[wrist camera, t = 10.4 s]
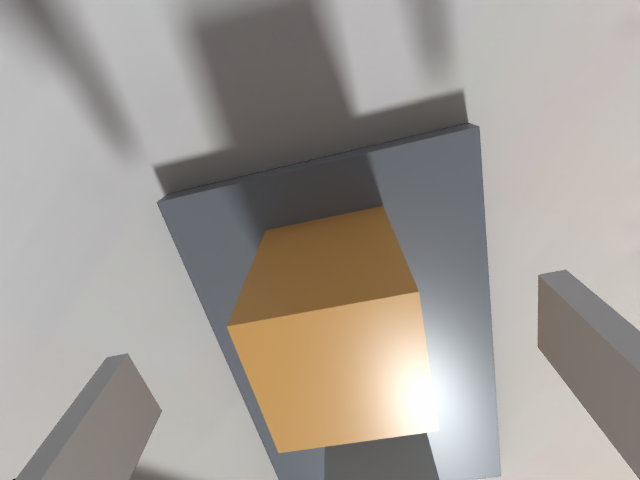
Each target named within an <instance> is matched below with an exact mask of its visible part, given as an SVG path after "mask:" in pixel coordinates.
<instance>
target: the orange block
mask: <svg viewBox="0 0 640 480" xmlns="http://www.w3.org/2000/svg"><path fill="white" fill-rule="evenodd" d="M227 329H228V331H229V334H230V336H231V339H232V341H233V344H234V346H235V348H236V351H237V353H238V356H239V358H240V361H241V363H242V365H243V368H244V370H245V373H246V375H247V378H248V380H249V382H250V385H251V387H252V390H253V392H254V395H255V397H256V399H257V402H258V404H259V407H260V409H261V412H262V414H263V417H264V419H265V421H266V424H267V426H268V429H269V431H270V434H271V436H272V438H273V441H274V443H275V446H276V448H277V451H278V453H284V452H291V451H299V450H306V449H313V448H320V447H327V446H335V445H342V444H349V443H356V442H363V441H371V440H378V439H385V438H392V437H399V436H407V435H414V434H421V433H428V432H435V431H439V427H438V420H437V413H436V406H435V399H434V392H433V385H432V378H431V371H430V364H429V357H428V351H427V344H426V337H425V330H424V323H423V316H422V309H421V302H420V295H419V290H418V288H417V286H416V283H415V281H414V278H413V276H412V274H411V271H410V269H409V266H408V264H407V262H406V259H405V257H404V254H403V252H402V250H401V247H400V245H399V242H398V240H397V238H396V235H395V233H394V230H393V228H392V226H391V223H390V221H389V218H388V216H387V214H386V211H385V209H384V206H380V207H375V208H370V209H365V210H361V211H356V212H351V213H346V214H342V215H337V216H332V217H327V218H323V219H318V220H313V221H308V222H304V223H299V224H294V225H289V226H285V227H280V228H275V229H270V230H266V231H265V233H264V235H263V238H262V240H261V243H260V245H259V248H258V250H257V253H256V255H255V258H254V260H253V263H252V265H251V268H250V270H249V272H248V275H247V277H246V280H245V282H244V285H243V287H242V290H241V292H240V295H239V297H238V300H237V302H236V305H235V307H234V309H233V312H232V314H231V317H230V319H229V322H228V324H227Z"/></svg>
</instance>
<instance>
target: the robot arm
mask: <svg viewBox="0 0 640 480" xmlns="http://www.w3.org/2000/svg"><path fill="white" fill-rule="evenodd" d="M538 348H539V349H540V350H541V352H542V353H543V354H544V356H545V357H546V358H547V359H548V361H549V362H550V363H551V365H552V366H553V367H554V369H555V370H556V371H557V372H558V374H559V375H560V376H561V378H562V379H563V380H564V382H565V383H566V384H567V386H568V387H569V388H570V389H571V391H572V392H573V393H574V395H575V396H576V397H577V399H578V400H579V401H580V402H581V404H582V405H583V406H584V408H585V409H586V410H587V412H588V413H589V414H590V415H591V417H592V418H593V419H594V421H595V422H596V423H597V425H598V426H599V427H600V429H601V430H602V431H603V432H604V434H605V435H606V436H607V438H608V439H609V440H610V442H611V443H612V444H613V445H614V447H615V448H616V449H617V451H618V452H619V453H620V455H621V456H622V457H623V458H624V460H625V461H626V462H627V464H628V465H629V466H630V468H631V469H632V470H633V472H634V473H635V474H636V475H637V477H638V478H639V479H640V331H639V330H638V329H636V328H635V327H634V326H633V325H632V324H630V323H629V322H628V321H627V320H626V319H624V318H623V317H622V316H621V315H620V314H618V313H617V312H616V311H615V310H614V309H612V308H611V307H610V306H609V305H608V304H606V303H605V302H604V301H603V300H602V299H600V298H599V297H598V296H597V295H596V294H594V293H593V292H592V291H591V290H590V289H588V288H587V287H586V286H585V285H584V284H582V283H581V282H580V281H579V280H578V279H576V278H575V277H574V276H573V275H572V274H570V273H569V272H568V271H567V270H561V271H556V272H551V273H546V274H540V275H538ZM161 412H162V410H161V409H160V407H159V405H158V403H157V402H156V400H155V398H154V397H153V395H152V393H151V392H150V390H149V388H148V387H147V385H146V383H145V382H144V380H143V378H142V377H141V375H140V373H139V372H138V370H137V368H136V367H135V365H134V363H133V362H132V360H131V358H130V356H129V355H128V354H123V355H117V356H112V357H107V358H106V359H105V360H104V362H103V363H102V364H101V366H100V367H99V368H98V370H97V371H96V372H95V374H94V375H93V376H92V378H91V379H90V380H89V382H88V383H87V384H86V386H85V387H84V388H83V390H82V391H81V392H80V394H79V395H78V396H77V398H76V399H75V400H74V402H73V403H72V404H71V406H70V407H69V409H68V410H67V411H66V413H65V414H64V415H63V417H62V418H61V419H60V421H59V422H58V423H57V425H56V426H55V427H54V429H53V430H52V431H51V433H50V434H49V435H48V437H47V438H46V439H45V441H44V442H43V443H42V445H41V446H40V447H39V449H38V450H37V451H36V453H35V454H34V455H33V457H32V458H31V459H30V461H29V462H28V463H27V465H26V466H25V467H24V469H23V470H22V471H21V473H20V474H19V475H18V477H17V478H16V479H13V480H130V478H131V476H132V474H133V471H134V469H135V467H136V465H137V463H138V461H139V459H140V457H141V454H142V452H143V450H144V448H145V446H146V444H147V442H148V440H149V437H150V435H151V433H152V431H153V429H154V427H155V425H156V423H157V420H158V418H159V416H160V414H161Z"/></svg>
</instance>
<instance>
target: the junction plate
mask: <svg viewBox="0 0 640 480" xmlns="http://www.w3.org/2000/svg"><path fill="white" fill-rule="evenodd" d="M157 204H158V207H159V209H160V211H161V213H162V216H163V218H164V220H165V222H166V225H167V227H168V229H169V232H170V234H171V236H172V238H173V241H174V243H175V245H176V247H177V250H178V252H179V254H180V257H181V259H182V261H183V263H184V266H185V268H186V270H187V272H188V275H189V277H190V279H191V281H192V284H193V286H194V288H195V291H196V293H197V295H198V297H199V300H200V302H201V304H202V306H203V309H204V311H205V313H206V315H207V318H208V320H209V322H210V325H211V327H212V329H213V331H214V334H215V336H216V338H217V340H218V343H219V345H220V347H221V350H222V352H223V354H224V356H225V359H226V361H227V363H228V365H229V368H230V370H231V372H232V374H233V377H234V379H235V381H236V384H237V386H238V388H239V390H240V393H241V395H242V397H243V399H244V402H245V404H246V406H247V408H248V411H249V413H250V415H251V418H252V420H253V422H254V424H255V427H256V429H257V431H258V433H259V436H260V438H261V440H262V443H263V445H264V447H265V449H266V452H267V454H268V456H269V458H270V461H271V463H272V465H273V467H274V470H275V472H276V474H277V477H278V479H279V480H476V479H483V478H491V477H499V476H501V465H500V449H499V433H498V417H497V401H496V385H495V369H494V353H493V337H492V321H491V305H490V289H489V273H488V257H487V241H486V225H485V209H484V193H483V177H482V161H481V145H480V129H479V126H476V125H473V124H471V123H466V124H462V125H458V126H454V127H450V128H445V129H441V130H437V131H433V132H429V133H424V134H420V135H416V136H412V137H407V138H403V139H399V140H395V141H391V142H386V143H382V144H378V145H374V146H370V147H365V148H361V149H357V150H353V151H348V152H344V153H340V154H336V155H332V156H327V157H323V158H319V159H315V160H311V161H306V162H302V163H298V164H294V165H290V166H285V167H281V168H277V169H273V170H268V171H264V172H260V173H256V174H252V175H247V176H243V177H239V178H235V179H231V180H226V181H222V182H218V183H214V184H209V185H205V186H201V187H197V188H193V189H188V190H184V191H180V192H176V193H172V194H167V195H166V196H165V197H163V198H162V199H161V200H159V201H158V202H157ZM380 206H384V209H385V211H386V214H387V216H388V218H389V221H390V223H391V226H392V228H393V230H394V233H395V235H396V238H397V240H398V242H399V245H400V247H401V250H402V252H403V254H404V257H405V259H406V262H407V264H408V266H409V269H410V271H411V274H412V276H413V278H414V281H415V283H416V286H417V288H418V290H419V295H420V302H421V309H422V316H423V323H424V330H425V337H426V344H427V351H428V357H429V364H430V371H431V378H432V385H433V392H434V399H435V406H436V413H437V420H438V427H439V431H435V432H428V433H421V434H414V435H407V436H399V437H392V438H385V439H378V440H371V441H363V442H356V443H349V444H342V445H335V446H327V447H320V448H313V449H306V450H299V451H291V452H284V453H278V451H277V448H276V446H275V443H274V441H273V438H272V436H271V434H270V431H269V429H268V426H267V424H266V421H265V419H264V417H263V414H262V412H261V409H260V407H259V404H258V402H257V399H256V397H255V395H254V392H253V390H252V387H251V385H250V382H249V380H248V378H247V375H246V373H245V370H244V368H243V365H242V363H241V361H240V358H239V356H238V353H237V351H236V348H235V346H234V344H233V341H232V339H231V336H230V334H229V331H228V329H227V324H228V322H229V319H230V317H231V314H232V312H233V309H234V307H235V305H236V302H237V300H238V297H239V295H240V292H241V290H242V287H243V285H244V282H245V280H246V277H247V275H248V272H249V270H250V268H251V265H252V263H253V260H254V258H255V255H256V253H257V250H258V248H259V245H260V243H261V240H262V238H263V235H264V233H265V231H266V230H270V229H275V228H280V227H285V226H289V225H294V224H299V223H304V222H308V221H313V220H318V219H323V218H327V217H332V216H337V215H342V214H346V213H351V212H356V211H361V210H365V209H370V208H375V207H380Z"/></svg>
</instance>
